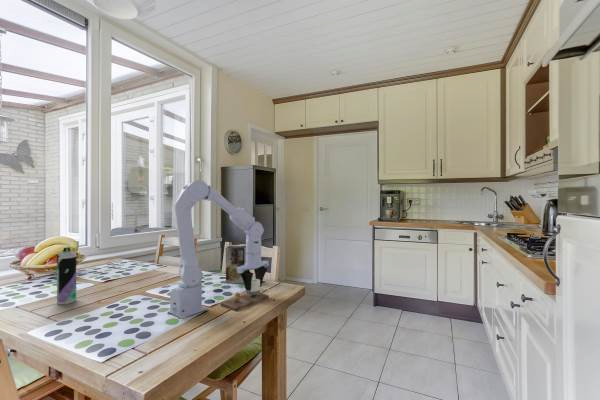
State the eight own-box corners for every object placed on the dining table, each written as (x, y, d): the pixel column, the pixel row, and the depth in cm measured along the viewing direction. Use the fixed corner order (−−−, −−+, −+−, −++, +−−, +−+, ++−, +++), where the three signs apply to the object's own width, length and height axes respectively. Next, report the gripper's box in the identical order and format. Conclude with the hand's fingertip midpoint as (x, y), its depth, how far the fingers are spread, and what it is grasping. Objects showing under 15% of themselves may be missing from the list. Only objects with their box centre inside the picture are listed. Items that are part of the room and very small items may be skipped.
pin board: (235, 311, 94) (235, 298, 94) (220, 305, 98) (220, 293, 98) (268, 297, 106) (268, 286, 106) (254, 293, 111) (254, 282, 111)
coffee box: (248, 279, 131) (248, 245, 131) (244, 283, 124) (244, 247, 124) (230, 279, 132) (230, 245, 132) (225, 283, 125) (225, 247, 125)
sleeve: (253, 295, 102) (253, 283, 102) (244, 292, 105) (244, 281, 105) (262, 292, 106) (262, 280, 106) (253, 289, 109) (253, 278, 109)
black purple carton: (65, 305, 99) (65, 249, 99) (52, 303, 100) (52, 248, 100) (80, 299, 104) (80, 246, 104) (68, 298, 105) (68, 246, 106)
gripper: (259, 248, 114) (259, 281, 114) (231, 254, 102) (231, 291, 102) (272, 250, 109) (272, 285, 109) (244, 256, 98) (244, 295, 98)
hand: (253, 288), depth 106 cm, fingers closed on sleeve, 5 cm apart
